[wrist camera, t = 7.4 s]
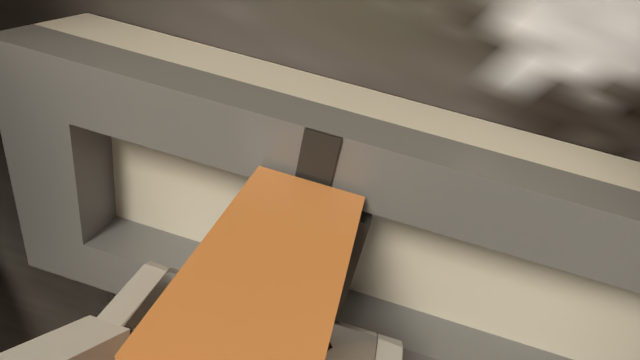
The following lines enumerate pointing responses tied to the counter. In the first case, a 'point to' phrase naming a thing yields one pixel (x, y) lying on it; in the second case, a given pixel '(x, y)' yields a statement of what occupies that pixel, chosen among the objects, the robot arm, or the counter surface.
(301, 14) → the counter surface
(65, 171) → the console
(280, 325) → the fader knob
